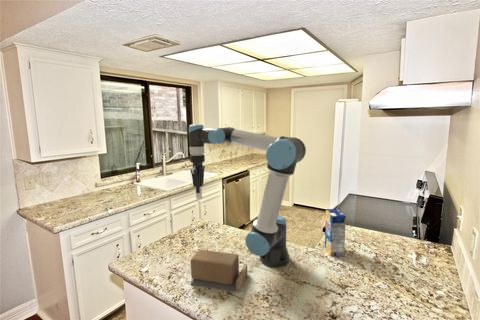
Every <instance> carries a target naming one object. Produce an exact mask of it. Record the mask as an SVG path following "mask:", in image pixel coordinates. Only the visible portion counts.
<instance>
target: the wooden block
mask: <svg viewBox="0 0 480 320" xmlns="http://www.w3.org/2000/svg"><path fill="white" fill-rule="evenodd" d="M239 259H240V258H239V254H237V253H230V252H223V251H216V250H215V251H213V250H207V249H206V250H205V249H199V250H198V251H196V253H195V254H194V255H193V256H192V257H191V259H190V271H191V273H190V275H191V276H190V277H191V279H192V280H194V279H195V280H201V281H208V282H214V283H220V284H226V285H233V284H234V282H235V280H236V278H237V276H238V274H239V269H240V267H239V265H240V263H239Z"/></svg>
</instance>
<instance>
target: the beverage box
mask: <svg viewBox="0 0 480 320" xmlns="http://www.w3.org/2000/svg"><path fill="white" fill-rule="evenodd" d="M346 220H347V216H346V215H345V213H343V212H342V210H340V209H339V208H326V209H325V227H324V229H325V232H324V247H325V249H326V251H327V254H328V255H329V256H330V257H345V247H346V246H345V243H346V224H347V223H346Z"/></svg>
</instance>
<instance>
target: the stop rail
mask: <svg viewBox="0 0 480 320" xmlns="http://www.w3.org/2000/svg"><path fill="white" fill-rule="evenodd" d="M247 275H248V263H244V264H243V266H242V268H241V270H240V274H239V276H238V278H237V280H236V291H237V292H236V293H240V291H241V289H242V287H243V285H244V283H245V280H246V278H247Z"/></svg>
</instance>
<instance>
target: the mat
mask: <svg viewBox="0 0 480 320" xmlns="http://www.w3.org/2000/svg"><path fill="white" fill-rule="evenodd" d="M240 272H241V270H240V271H239V274H240ZM239 274H238V276H239ZM238 276H237V278H238ZM237 278H236V280H237ZM236 280H235V282H234V284H233V285H226V284H220V283H214V282H208V281H201V280H195V279H192V281H191V282H190V285H192V286H197V287H203V288H210V289H217V290H221V291H226V292H228V291H229V292H232V293H233V292H234V293H238V292H237V291H236Z"/></svg>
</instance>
